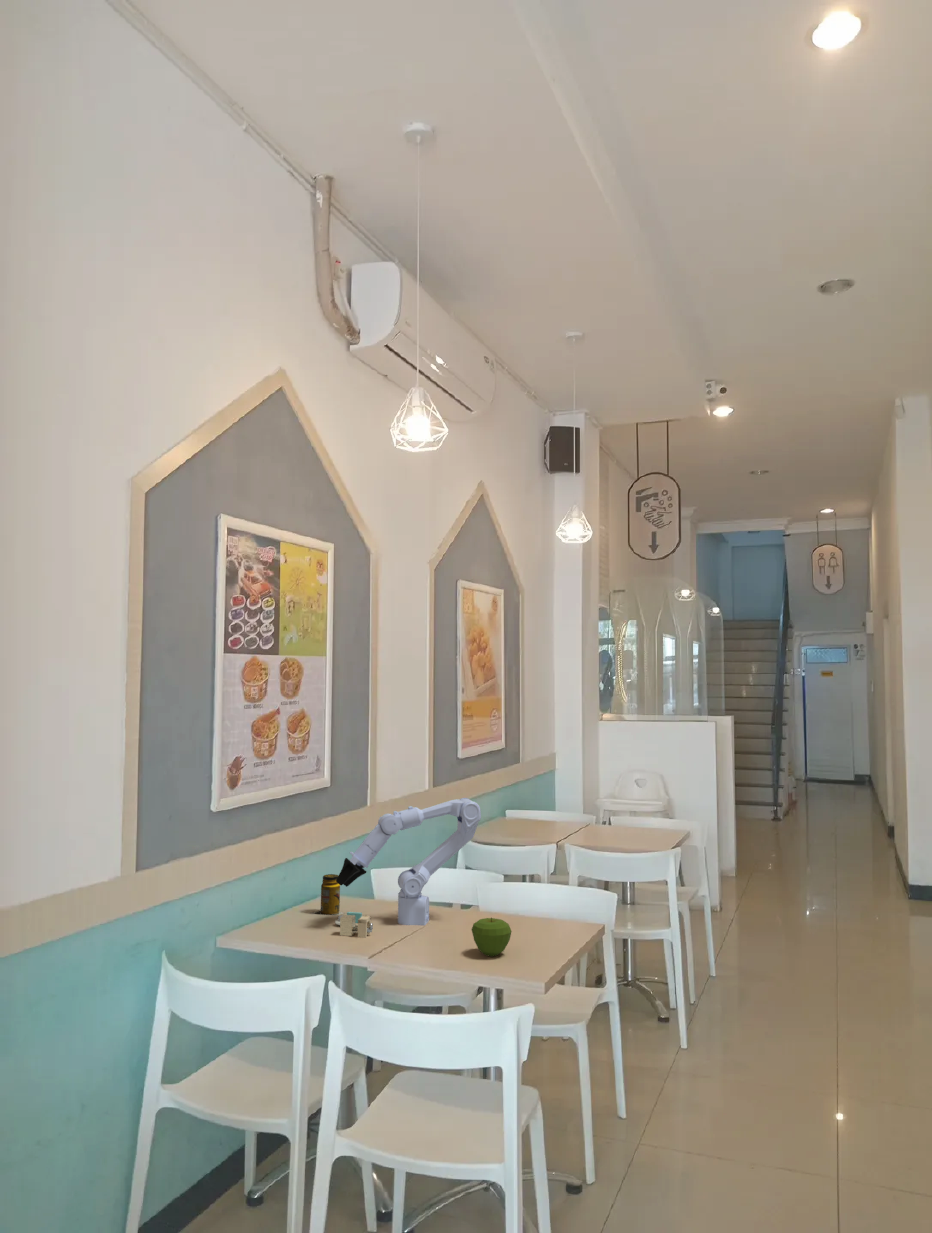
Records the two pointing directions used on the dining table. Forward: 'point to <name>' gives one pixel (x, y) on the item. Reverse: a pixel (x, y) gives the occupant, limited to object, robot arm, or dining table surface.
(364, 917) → the grey dial panel
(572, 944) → the dining table surface
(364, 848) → the robot arm
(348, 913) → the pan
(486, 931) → the apple
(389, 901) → the dining table surface
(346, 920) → the beige rectangular block
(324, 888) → the condiment
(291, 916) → the dining table surface
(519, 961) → the dining table surface
